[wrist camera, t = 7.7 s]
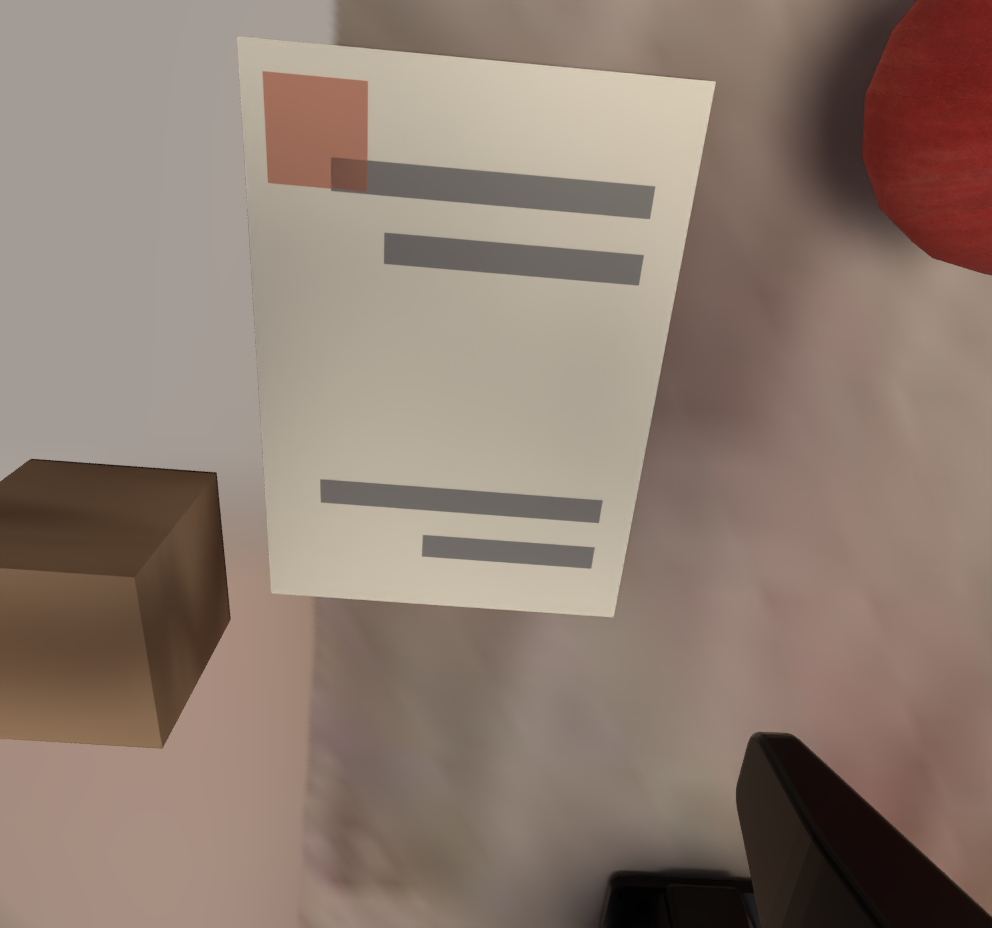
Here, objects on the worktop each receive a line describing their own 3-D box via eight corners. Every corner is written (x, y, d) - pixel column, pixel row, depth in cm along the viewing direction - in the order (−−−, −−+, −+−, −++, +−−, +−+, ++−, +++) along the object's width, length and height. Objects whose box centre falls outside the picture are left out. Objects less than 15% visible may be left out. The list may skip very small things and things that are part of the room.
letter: (611, 608, 22) (613, 617, 21) (274, 585, 21) (271, 593, 21) (710, 82, 16) (716, 81, 15) (242, 37, 15) (236, 35, 15)
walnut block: (230, 619, 22) (162, 748, 18) (63, 607, 22) (-49, 735, 17) (216, 472, 20) (134, 577, 15) (31, 458, 20) (-107, 561, 15)
